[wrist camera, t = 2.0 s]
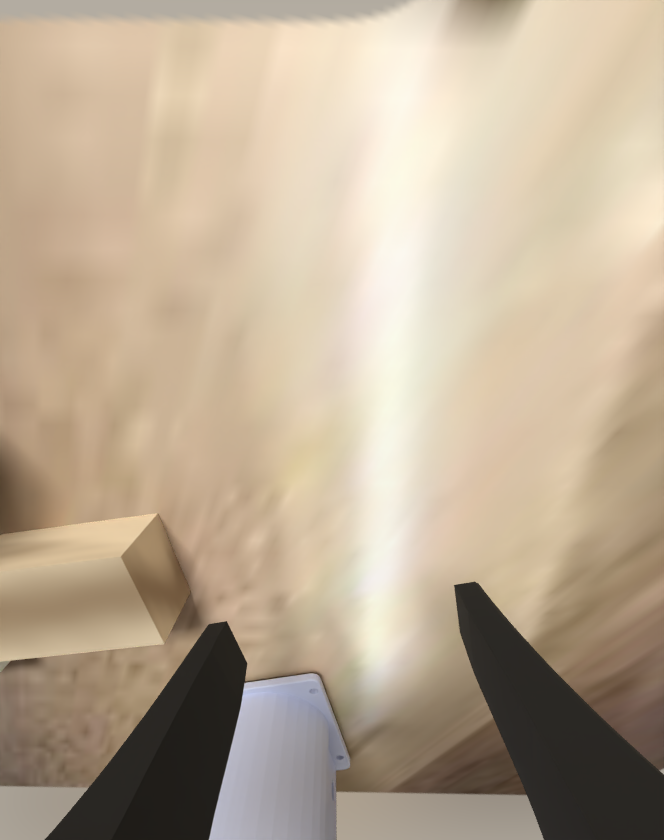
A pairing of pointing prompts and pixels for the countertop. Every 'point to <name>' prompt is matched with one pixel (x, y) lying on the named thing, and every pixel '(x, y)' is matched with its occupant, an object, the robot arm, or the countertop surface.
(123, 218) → the countertop surface
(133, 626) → the tan rectangular block
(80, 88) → the countertop surface
